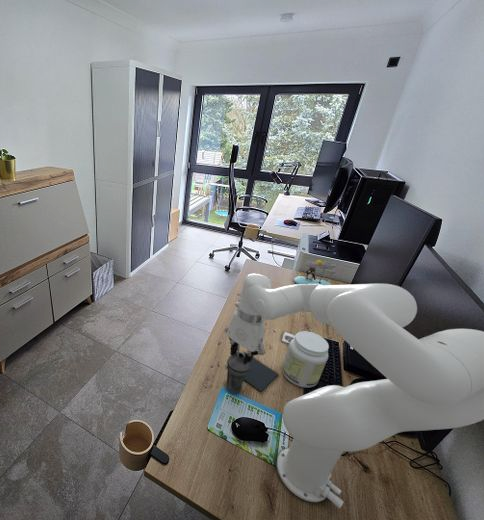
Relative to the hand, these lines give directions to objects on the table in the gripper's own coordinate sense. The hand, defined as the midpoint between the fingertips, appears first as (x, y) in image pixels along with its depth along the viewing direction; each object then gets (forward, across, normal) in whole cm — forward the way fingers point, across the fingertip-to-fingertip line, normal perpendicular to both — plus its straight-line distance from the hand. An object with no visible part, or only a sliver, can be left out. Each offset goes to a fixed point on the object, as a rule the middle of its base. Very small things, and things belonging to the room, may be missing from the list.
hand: (240, 356), depth 95 cm
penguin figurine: (+15, -13, +95) cm, 97 cm away
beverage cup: (+15, 0, 0) cm, 15 cm away
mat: (+15, 0, +12) cm, 19 cm away
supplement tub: (+15, +12, +24) cm, 31 cm away
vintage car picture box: (+15, +5, +42) cm, 45 cm away
